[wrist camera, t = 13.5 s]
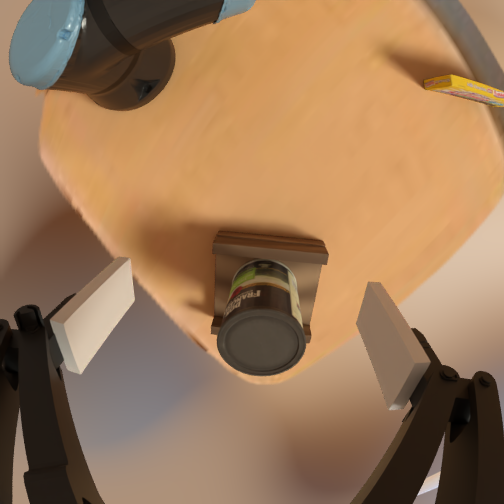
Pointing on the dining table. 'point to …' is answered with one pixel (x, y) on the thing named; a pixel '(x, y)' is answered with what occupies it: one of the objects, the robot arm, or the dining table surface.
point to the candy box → (466, 89)
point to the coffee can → (262, 320)
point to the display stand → (274, 248)
